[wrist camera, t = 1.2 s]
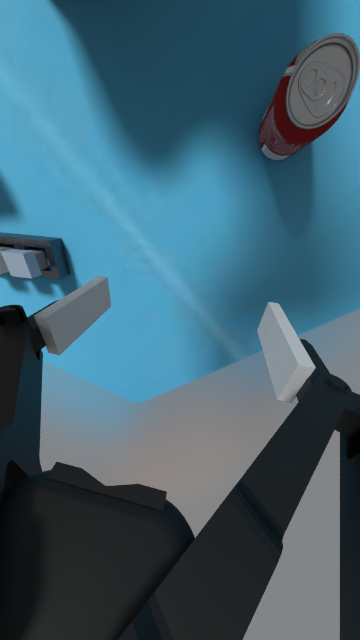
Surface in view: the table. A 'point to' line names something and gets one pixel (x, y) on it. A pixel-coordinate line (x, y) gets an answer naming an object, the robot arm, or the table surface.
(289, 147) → the soda can
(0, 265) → the key white
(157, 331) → the table surface
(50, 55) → the table surface
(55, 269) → the console
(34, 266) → the key slate
